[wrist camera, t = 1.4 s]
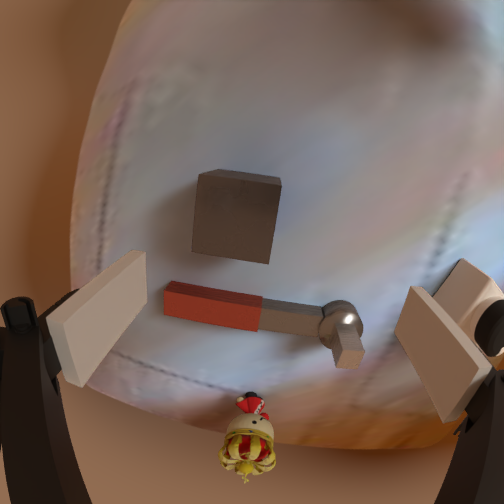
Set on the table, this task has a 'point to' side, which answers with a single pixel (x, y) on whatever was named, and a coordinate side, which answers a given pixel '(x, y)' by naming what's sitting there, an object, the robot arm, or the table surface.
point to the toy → (249, 439)
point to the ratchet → (271, 317)
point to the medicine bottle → (474, 306)
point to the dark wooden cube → (236, 215)
